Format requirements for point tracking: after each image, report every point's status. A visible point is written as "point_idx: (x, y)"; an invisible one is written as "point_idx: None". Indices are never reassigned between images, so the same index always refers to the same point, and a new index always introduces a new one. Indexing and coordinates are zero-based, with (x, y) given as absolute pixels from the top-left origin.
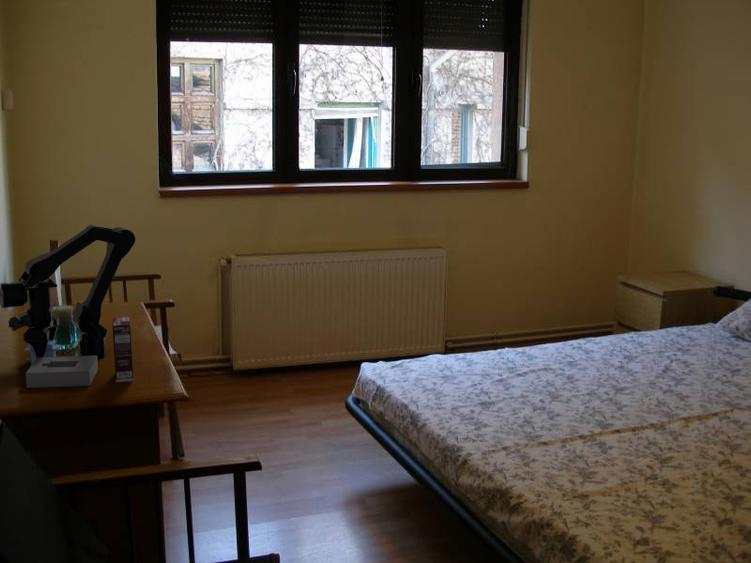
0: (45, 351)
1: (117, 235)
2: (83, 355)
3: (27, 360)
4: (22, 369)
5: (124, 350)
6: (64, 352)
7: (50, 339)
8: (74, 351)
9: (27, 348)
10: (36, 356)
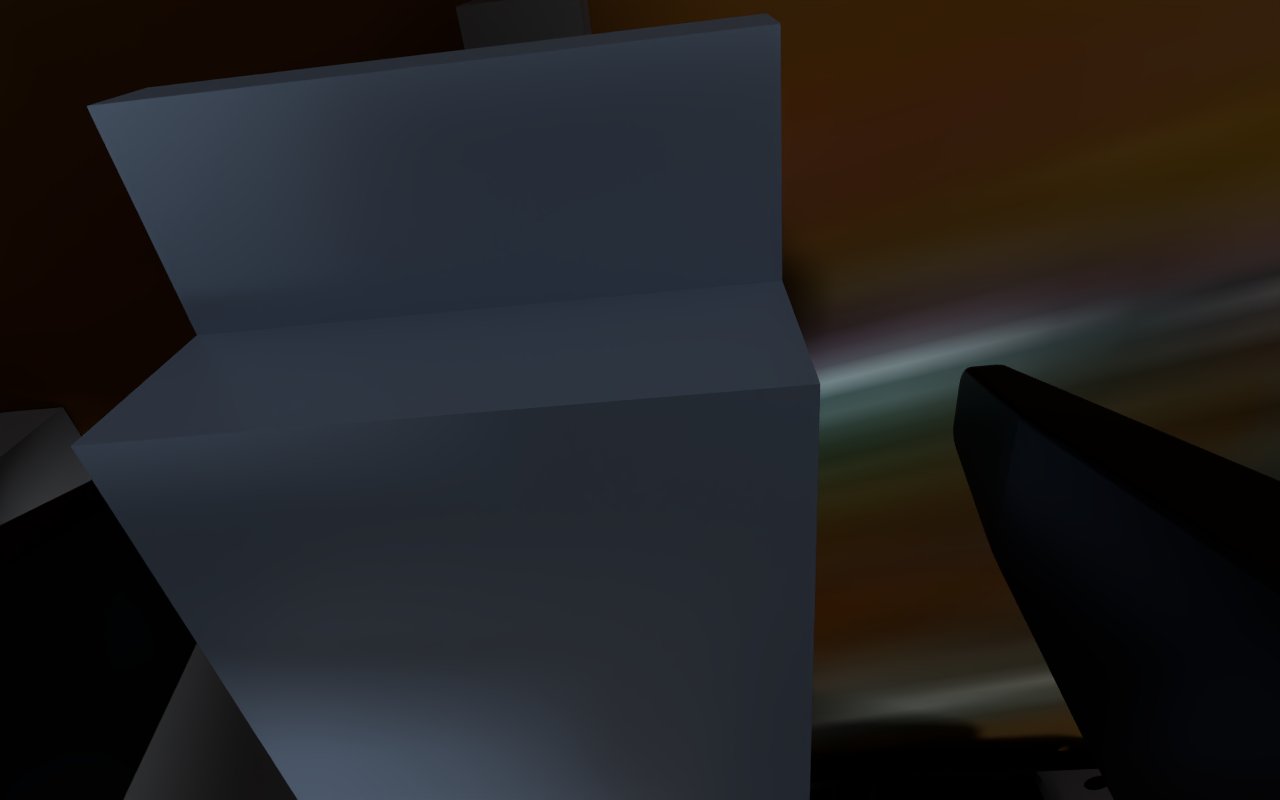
0: (119, 763)
1: None
2: (853, 795)
3: (465, 40)
4: (48, 48)
5: None
6: None
7: (1130, 768)
8: None
9: (300, 174)
10: (42, 510)
